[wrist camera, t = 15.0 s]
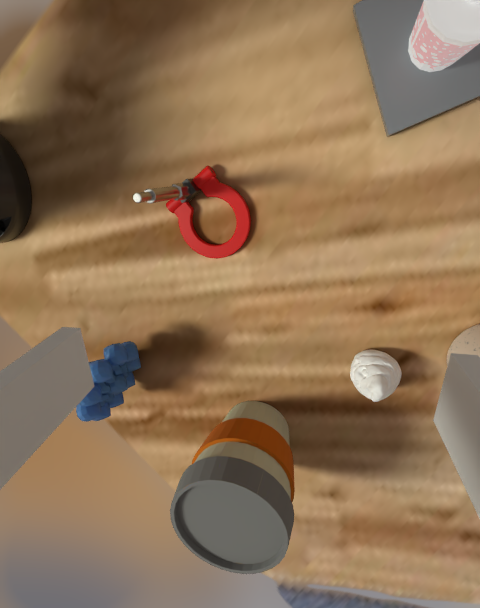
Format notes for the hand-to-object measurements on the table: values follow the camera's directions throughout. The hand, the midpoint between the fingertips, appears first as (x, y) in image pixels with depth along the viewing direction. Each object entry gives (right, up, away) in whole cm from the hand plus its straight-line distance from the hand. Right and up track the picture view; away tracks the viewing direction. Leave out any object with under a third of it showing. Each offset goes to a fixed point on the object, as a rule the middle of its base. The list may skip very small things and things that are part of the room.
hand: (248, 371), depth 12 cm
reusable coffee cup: (+2, -15, +35) cm, 38 cm away
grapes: (-16, -5, +36) cm, 40 cm away
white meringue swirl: (+16, -5, +28) cm, 32 cm away
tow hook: (-3, +12, +27) cm, 30 cm away
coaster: (+17, +25, +17) cm, 34 cm away
